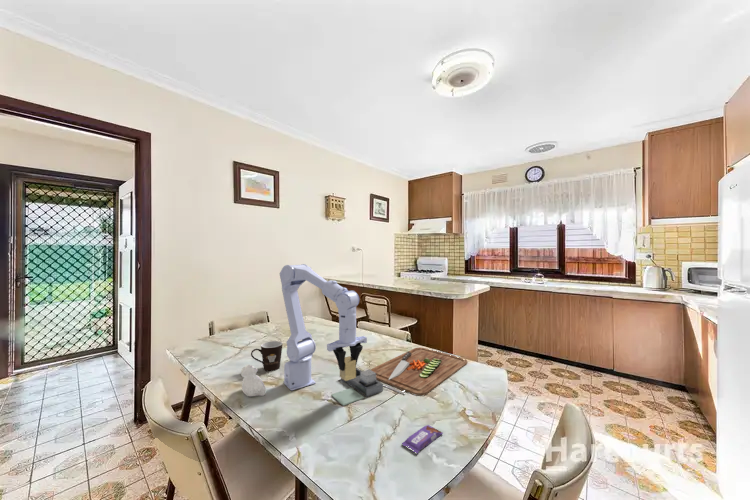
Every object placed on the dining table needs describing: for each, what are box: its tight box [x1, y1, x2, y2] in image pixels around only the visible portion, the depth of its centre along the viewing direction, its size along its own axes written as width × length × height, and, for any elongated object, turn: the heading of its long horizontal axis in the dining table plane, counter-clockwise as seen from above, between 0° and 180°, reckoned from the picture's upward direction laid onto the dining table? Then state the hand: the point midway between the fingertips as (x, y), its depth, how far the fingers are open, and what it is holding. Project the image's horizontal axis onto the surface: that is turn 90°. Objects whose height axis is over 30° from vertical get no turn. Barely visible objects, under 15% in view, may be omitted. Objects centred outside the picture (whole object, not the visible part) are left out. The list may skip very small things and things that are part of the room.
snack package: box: [401, 424, 444, 454], centre depth 73 cm, size 12×2×5 cm
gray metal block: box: [360, 368, 376, 387], centre depth 99 cm, size 4×4×6 cm
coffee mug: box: [250, 340, 283, 372], centre depth 118 cm, size 12×9×10 cm
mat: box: [330, 387, 365, 407], centre depth 94 cm, size 8×8×1 cm
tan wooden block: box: [339, 355, 357, 382], centre depth 94 cm, size 4×4×6 cm
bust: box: [240, 364, 267, 398], centre depth 96 cm, size 12×8×11 cm
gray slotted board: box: [340, 367, 384, 398], centre depth 103 cm, size 7×17×2 cm, turn 37°
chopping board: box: [370, 347, 468, 396], centre depth 118 cm, size 45×27×3 cm, turn 139°
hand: (347, 367), depth 94 cm, fingers closed on tan wooden block, 4 cm apart
